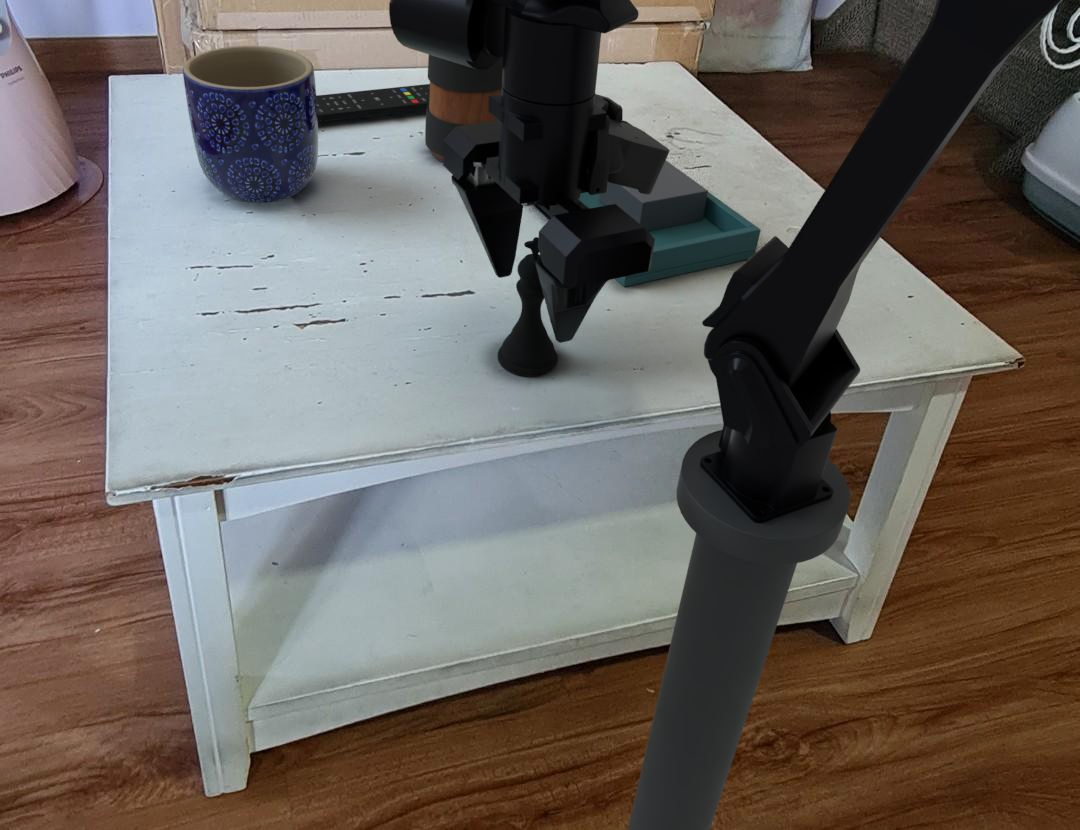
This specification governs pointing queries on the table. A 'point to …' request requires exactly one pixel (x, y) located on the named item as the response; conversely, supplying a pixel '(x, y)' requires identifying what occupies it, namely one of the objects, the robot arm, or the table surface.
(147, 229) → the table surface
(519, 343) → the chess piece
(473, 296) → the table surface
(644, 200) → the block
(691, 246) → the tray
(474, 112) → the mug
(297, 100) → the planter
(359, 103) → the remote control
